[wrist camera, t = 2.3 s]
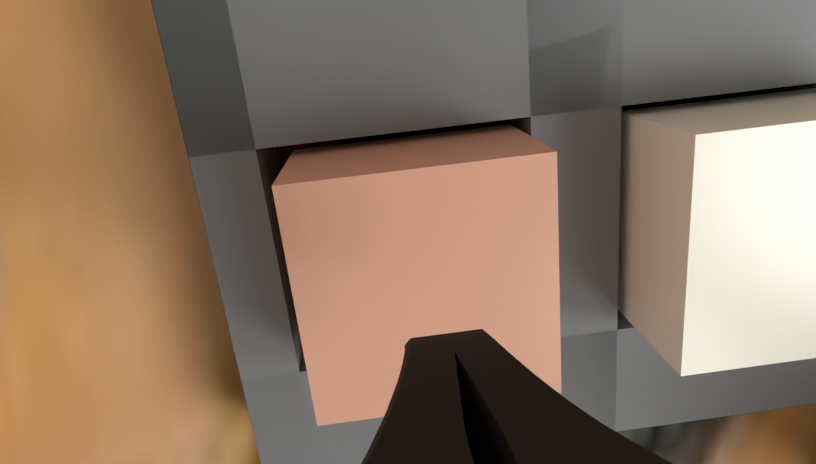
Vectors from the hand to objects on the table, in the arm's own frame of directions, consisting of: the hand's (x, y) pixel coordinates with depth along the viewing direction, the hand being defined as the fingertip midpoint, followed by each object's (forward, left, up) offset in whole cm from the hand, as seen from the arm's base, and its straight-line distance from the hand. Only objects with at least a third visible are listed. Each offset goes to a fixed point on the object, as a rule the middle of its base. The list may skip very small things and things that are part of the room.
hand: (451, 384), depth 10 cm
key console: (-5, 0, -9) cm, 10 cm away
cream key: (-9, 0, -7) cm, 12 cm away
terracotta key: (0, 0, -7) cm, 7 cm away
